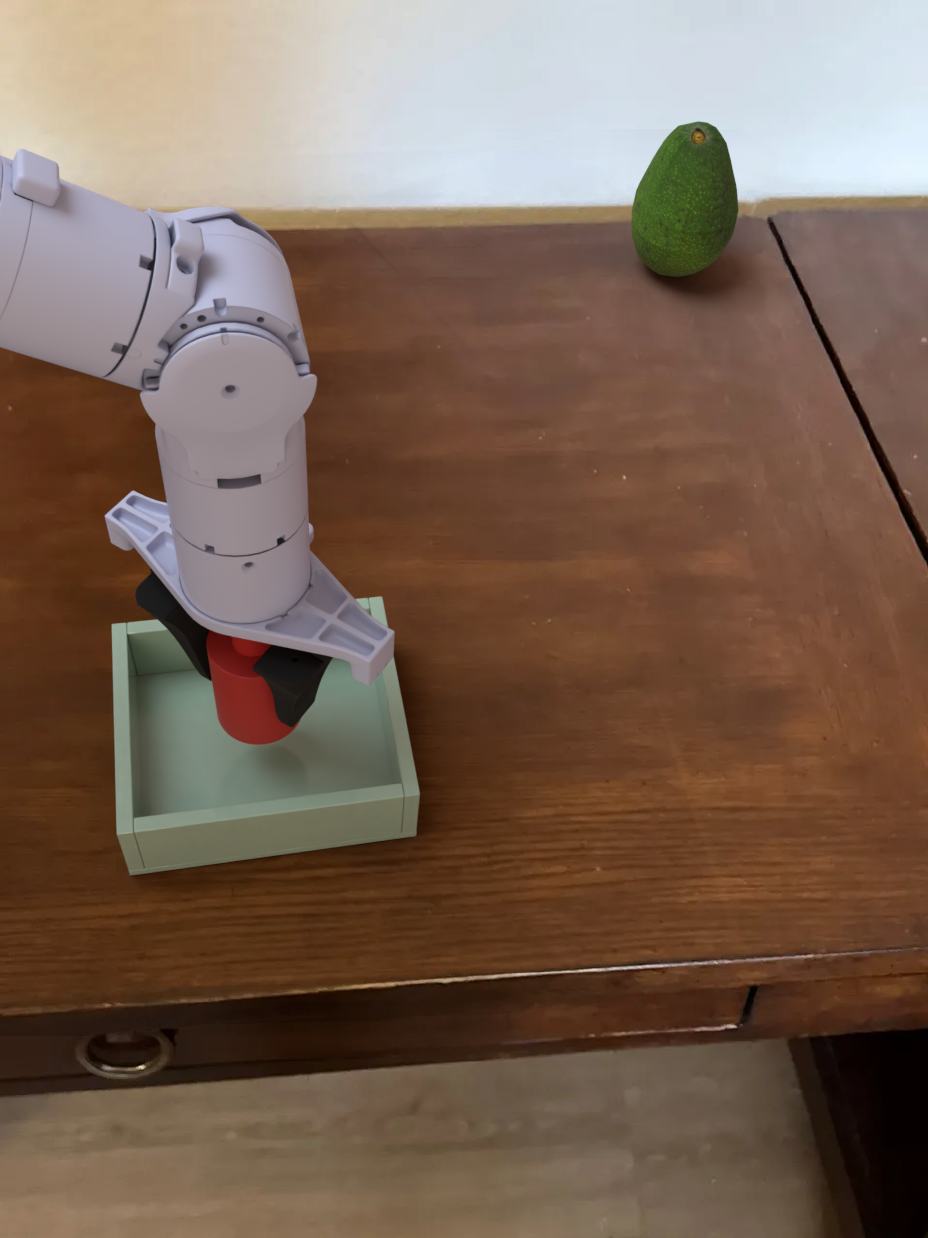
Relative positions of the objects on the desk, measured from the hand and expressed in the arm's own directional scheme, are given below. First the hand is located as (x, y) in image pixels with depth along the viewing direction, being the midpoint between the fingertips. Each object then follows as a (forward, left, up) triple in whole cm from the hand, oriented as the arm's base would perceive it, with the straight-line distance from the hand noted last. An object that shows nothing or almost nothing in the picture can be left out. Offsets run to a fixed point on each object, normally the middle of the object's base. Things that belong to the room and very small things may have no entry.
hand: (258, 688), depth 61 cm
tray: (0, 0, -6) cm, 6 cm away
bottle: (0, 0, -2) cm, 2 cm away
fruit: (+35, +39, -6) cm, 53 cm away
